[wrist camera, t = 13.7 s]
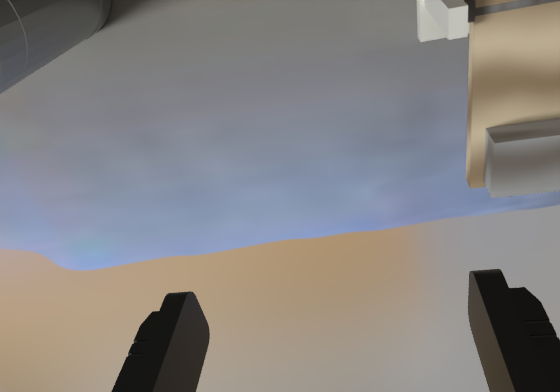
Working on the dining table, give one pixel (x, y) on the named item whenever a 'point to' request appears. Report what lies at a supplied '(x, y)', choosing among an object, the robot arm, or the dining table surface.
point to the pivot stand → (442, 19)
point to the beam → (514, 96)
